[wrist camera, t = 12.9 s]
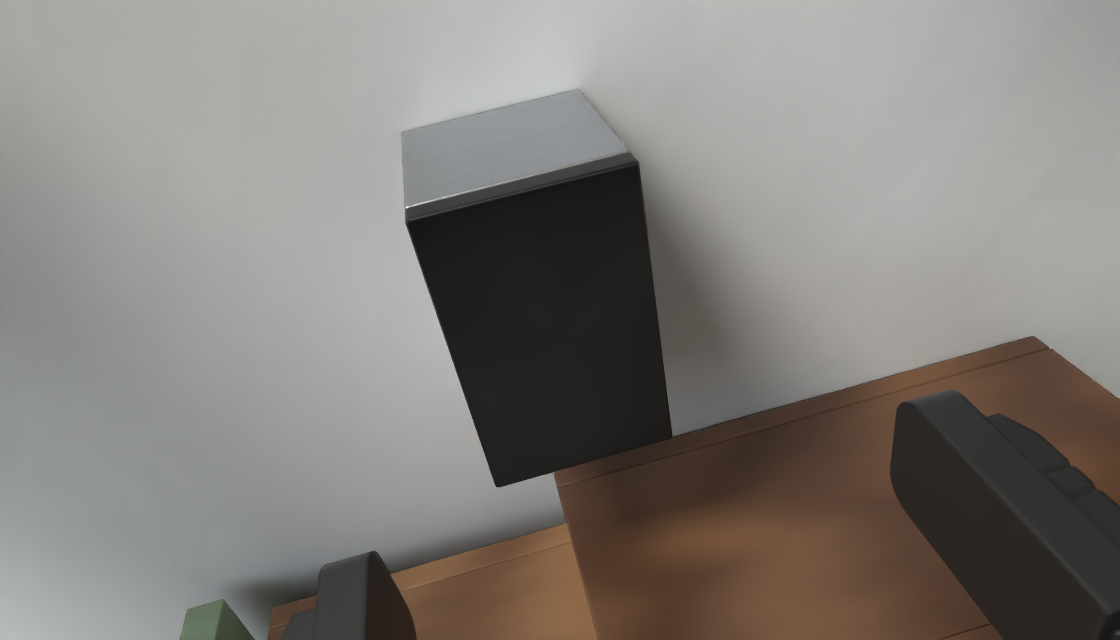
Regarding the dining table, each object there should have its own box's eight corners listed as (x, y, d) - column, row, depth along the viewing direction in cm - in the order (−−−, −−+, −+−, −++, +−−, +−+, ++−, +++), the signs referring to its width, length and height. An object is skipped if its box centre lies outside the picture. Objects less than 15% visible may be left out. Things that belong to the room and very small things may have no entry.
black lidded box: (475, 364, 21) (496, 489, 17) (400, 131, 17) (404, 221, 13) (618, 326, 21) (673, 439, 17) (579, 87, 17) (639, 161, 13)
